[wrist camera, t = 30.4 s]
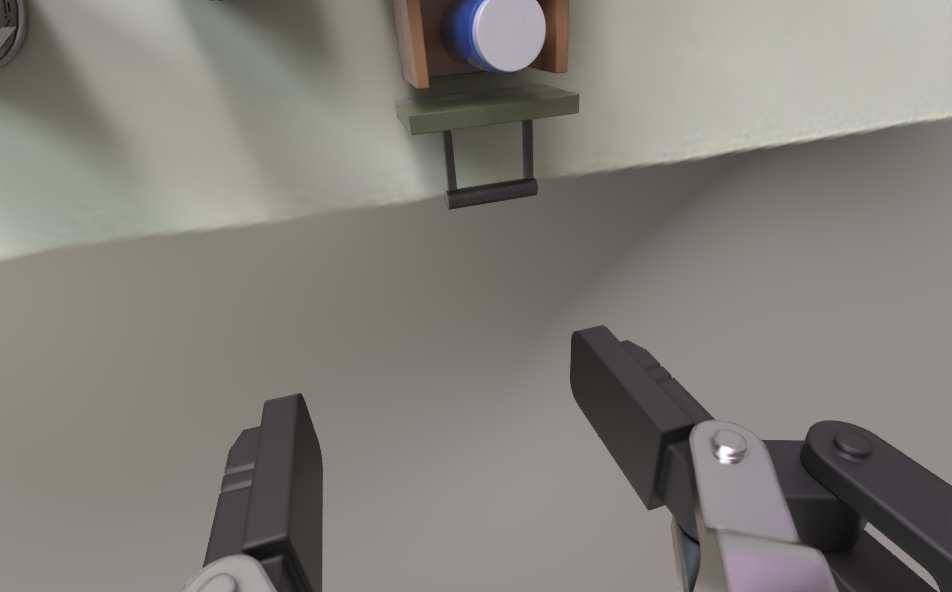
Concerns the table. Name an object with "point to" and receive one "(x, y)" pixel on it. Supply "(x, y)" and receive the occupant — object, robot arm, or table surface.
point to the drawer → (477, 93)
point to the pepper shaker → (493, 33)
